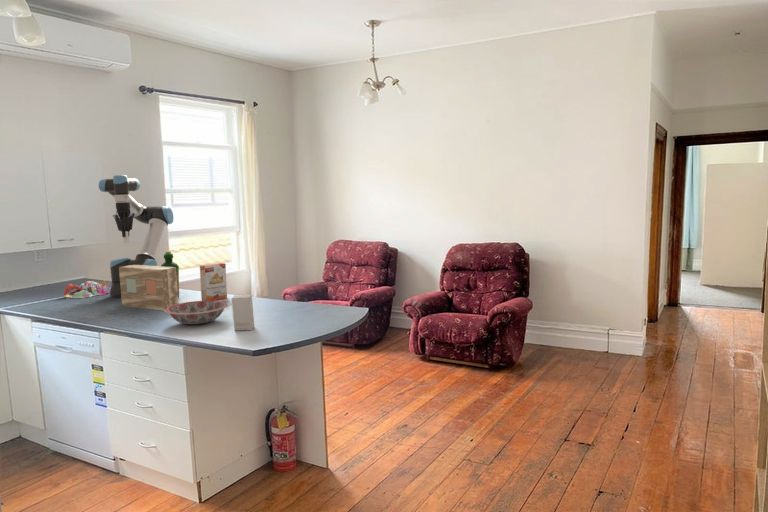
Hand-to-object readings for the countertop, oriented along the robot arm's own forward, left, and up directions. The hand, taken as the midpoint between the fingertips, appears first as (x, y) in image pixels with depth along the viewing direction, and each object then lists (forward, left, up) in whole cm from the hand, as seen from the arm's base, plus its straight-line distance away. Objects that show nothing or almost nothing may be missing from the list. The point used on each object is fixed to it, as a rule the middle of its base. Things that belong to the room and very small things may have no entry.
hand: (126, 242), depth 332 cm
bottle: (+22, +8, -35) cm, 42 cm away
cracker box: (+51, +7, -35) cm, 62 cm away
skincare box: (+101, -55, -35) cm, 120 cm away
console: (+23, -14, -34) cm, 44 cm away
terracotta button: (+30, -20, -26) cm, 44 cm away
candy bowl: (-40, +13, -35) cm, 55 cm away
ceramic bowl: (+72, -46, -35) cm, 92 cm away
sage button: (+14, -16, -26) cm, 34 cm away
